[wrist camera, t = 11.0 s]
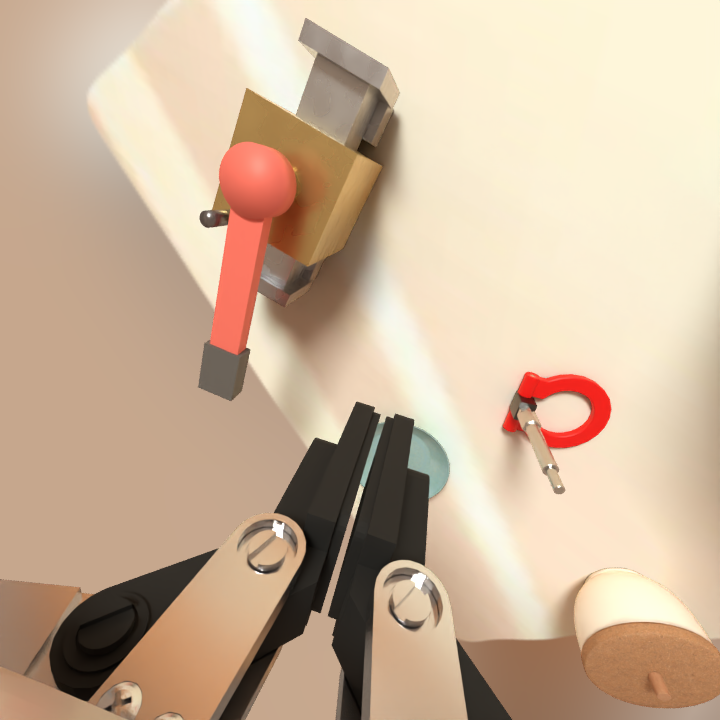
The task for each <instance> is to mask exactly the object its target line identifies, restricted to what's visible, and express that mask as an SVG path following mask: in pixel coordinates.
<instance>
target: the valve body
mask: <svg viewBox="0 0 720 720" xmlns="http://www.w3.org/2000/svg"><path fill="white" fill-rule="evenodd" d="M298 41H299V42H300V43H301V44H302V45H303V46H304V47H305V48H306V49H307V50H308V51H309V52H310V53H311V54H312V55H313V56H314V58H315V61H314V64H313V67H312V70H311V73H310V76H309V79H308V81H307V84H306V87H305V90H304V93H303V96H302V99H301V101H300V104H299V107H298V110H297V113H296V115H295V114H293V113H292V112H290V111H288V110H286V109H284V108H283V107H281V106H279V105H277V104H275V103H273V102H272V101H270V100H268V99H266V98H264V97H262V96H261V95H259V94H257V93H255V92H253V91H251V90H250V89H248V88H246V92H245V95H244V99H243V102H242V106H241V109H240V113H239V117H238V120H237V124H236V127H235V131H234V134H233V138H232V141H231V145H230V148H231V147H233V146H234V145H236V144H238V143H242V142H253V143H257V144H260V145H264V146H267V147H271V148H274V149H276V150H278V151H279V152H281V153H282V154H283V155H284V156H285V157H286V158H287V159H288V161H289V162H290V164H291V166H292V167H293V170H294V173H295V176H296V184H297V187H296V195H295V198H294V201H293V203H292V205H291V206H290V208H289V209H288V210H287V211H286V212H285V213H283V214H282V215H280V216H277V217H273V218H272V223H271V228H270V233H269V238H268V242H267V247H266V252H265V257H264V262H263V267H262V272H261V276H260V281H259V286H258V292H259V293H261V294H263V295H264V296H266V297H268V298H270V299H271V300H273V301H275V302H276V303H278V304H280V305H282V306H283V307H286V306H288V305H289V304H290V303H292V302H293V301H295V300H296V299H298V298H299V297H301V296H302V295H304V294H305V293H307V292H308V291H309V289H310V287H311V285H312V283H313V280H314V279H316V277H317V275H318V273H319V270H320V268H321V266H322V264H323V262H324V260H325V258H326V257H328V256H330V255H332V254H334V253H336V252H338V251H340V250H342V249H343V248H344V246H345V244H346V242H347V240H348V237H349V235H350V233H351V231H352V229H353V227H354V225H355V223H356V221H357V219H358V217H359V215H360V213H361V210H362V208H363V206H364V204H365V202H366V200H367V198H368V196H369V194H370V192H371V190H372V188H373V186H374V183H375V181H376V179H377V177H378V175H379V173H380V171H381V169H382V167H383V166H381V165H380V164H378V163H376V162H375V161H373V160H371V159H370V158H368V157H366V156H365V155H363V154H361V153H360V152H358V151H357V149H358V147H359V145H360V143H361V140H362V139H363V140H365V141H366V142H368V143H370V144H371V145H373V146H375V147H377V145H378V143H379V141H380V138H381V136H382V134H383V132H384V130H385V128H386V126H387V123H388V121H389V119H390V117H391V115H392V113H393V110H394V109H393V107H394V105H395V103H396V100H397V98H398V96H399V94H400V92H399V90H398V88H397V85H396V83H395V81H394V79H393V76H392V74H391V72H390V70H389V68H388V67H386V66H384V65H383V64H381V63H379V62H378V61H376V60H375V59H373V58H371V57H370V56H368V55H366V54H365V53H363V52H361V51H360V50H358V49H356V48H355V47H353V46H351V45H350V44H348V43H346V42H345V41H343V40H341V39H340V38H338V37H336V36H335V35H333V34H332V33H330V32H328V31H327V30H325V29H323V28H322V27H320V26H318V25H317V24H315V23H313V22H312V21H310V20H308V19H307V18H305V22H304V25H303V28H302V31H301V34H300V37H299V40H298ZM230 148H229V149H230ZM230 208H231V207H230V205H229V204H228V203H227V201H226V199H225V198H224V195H223V193H222V190H221V187H220V184H219V187H218V191H217V194H216V198H215V202H214V205H213V209H212V210H209V211H203V212H201V214H200V222H201V223H202V225H203V226H205V227H207V228H210V227H218V226H226V225H228V221H229V215H230Z"/></svg>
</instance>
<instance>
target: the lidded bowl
mask: <svg viewBox="0 0 720 720" xmlns="http://www.w3.org/2000/svg"><path fill="white" fill-rule="evenodd" d="M574 625H575V631H576V636H577V640H578V643H579V647H580V651H581V658H582V662H583V666H584V669H585V672H586V674H587V676H588V677H589V679H590V680H591V681H592V682H593V683H594V684H595V685H596V686H597V687H598V688H599V689H601V690H602V691H604V692H605V693H607V694H609V695H611V696H612V697H615V698H617V699H620V700H622V701H625V702H628V703H632V704H635V705H640V706H646V707H653V708H680V707H681V708H682V707H689V706H694V705H698V704H701V703H704V702H707V701H709V700H712V699H713V698H715V697H716V696H718V695H719V694H720V653H719V652H718V650H717V648H716V647H715V646H714V645H713V644H712V642H711V640H710V638H709V637H708V635H707V634H706V632H705V631H704V629H703V628H702V626H701V625H700V623H699V622H698V621H697V619H696V618H695V617H694V615H693V614H692V613H691V612H690V610H689V609H688V608H687V607H686V606H685V605H684V604H683V603H682V602H681V601H680V600H679V599H678V598H677V597H676V596H675V595H674V594H673V593H671V592H670V591H669V590H667V589H666V588H665V587H663V586H662V585H660V584H659V583H657V582H655V581H653V580H651V579H649V578H647V577H644V576H643V575H641V574H640V573H638V572H636V571H633V570H630V569H625V568H606V569H602V570H599V571H596V572H594V573H592V574H591V575H590V576H589V577H588V578H587V579H586V581H585V583H584V585H583V586H582V588H581V589H580V591H579V592H578V594H577V597H576V600H575V605H574Z"/></svg>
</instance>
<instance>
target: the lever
mask: <svg viewBox="0 0 720 720" xmlns="http://www.w3.org/2000/svg"><path fill="white" fill-rule="evenodd" d="M219 181H220V187H221V190H222V193H223V195H224V198H225V199H226V201H227V203H228V204H229V205H230V207H231V208H230V215H229V221H228V228H227V234H226V241H225V248H224V254H223V261H222V267H221V274H220V281H219V287H218V294H217V300H216V307H215V314H214V321H213V327H212V334H211V340H209V341H207V342H206V343H205V344H204V351H203V358H202V365H201V372H200V379H199V386H198V387H199V388H201V389H204V390H206V391H208V392H211V393H213V394H215V395H218V396H220V397H222V398H225V399H227V400H229V401H232V400H233V399H234V398H235V397H236V396H237V395H238V394H239V393H240V392H241V391H242V387H243V382H244V377H245V373H246V368H247V363H248V359H249V354H250V349H248V348H246V344H247V340H248V335H249V330H250V325H251V320H252V315H253V310H254V306H255V301H256V296H257V291H258V286H259V281H260V276H261V272H262V267H263V262H264V257H265V252H266V247H267V242H268V238H269V233H270V228H271V223H272V218H273V217H277V216H280V215H282V214H283V213H285V212H286V211H287V210H288V209H289V208H290V206H291V205H292V203H293V201H294V198H295V195H296V187H297V184H296V176H295V173H294V170H293V167H292V166H291V164H290V162H289V161H288V159H287V158H286V157H285V156H284V155H283V154H282V153H281V152H279V151H278V150H276V149H274V148H271V147H267V146H264V145H260V144H257V143H253V142H242V143H238V144H236V145H234V146H233V147H231V148H230V149H229V150H228V151H227V152H226V154H225V155H224V157H223V159H222V162H221V165H220V170H219Z"/></svg>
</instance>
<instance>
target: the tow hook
mask: <svg viewBox="0 0 720 720" xmlns="http://www.w3.org/2000/svg"><path fill="white" fill-rule="evenodd" d="M560 391H575V392H579V393H581V394H583V395H585V396H586V397H588V398H589V400H590V401H591V406H592V409H591V414H590V416H589V418H588V420H587V421H586V422H585V423H584V424H583V425H582V426H580V427H579V428H577V429H575V430H572V431H569V432H564V433H555V432H550V431H547V430H545V429H543V428H542V427H541V424H540V422H539V420H538V417H537V416H536V413H535V410H536V408H537V405H536V403H535V401H534V399H533V397H536V398H540V399H544V398H546V397H547V396H549V395H551V394H553V393H556V392H560ZM610 413H611V404H610V399H609V397H608V396H607V394H606V392H605V391H604V390H603V388H602V387H600V386H599V385H598V384H597V383H596V382H595V381H593V380H590V379H588V378H586V377H584V376H578V375H573V374H569V375H557V376H553V377H549V378H547V379H546V378H542V377H539V376H538V375H537V374H535V373H532V372H526V374H525V376H524V378H523V381H522V383H521V385H520V387H519V390H518V391H517V392H516V394H515V396H514V399H513V401H512V403H511V405H510V410H509V413H508V415H507V417H506V420H505V422H504V424H503V427H504V429H506V430H507V431H510V432H515V431H516V430H520V431H524V432H525V433H526V435H527V436H528V437H529V440H530V442H531V445H532V447H533V449H534V452H535V454H536V457H537V459H538V462H539V464H540V467H541V469H542V471H543V473H544V474H545V475H547V476H548V479H549V481H550V483H551V486H552V488H553V491H554V492H555V493H556V494H562V493H564V492H565V488H564V486H563V484H562V481H561V479H560V477H559V475H558V472H559V468H558V466H557V464H556V462H555V460H554V457H553V455H552V453H551V451H550V449H549V447H554V448H567V447H572V446H577V445H580V444H582V443H585V442H587V441H589V440H591V439H592V438H594V437H595V436H597V435H598V434H599V433H600V432H601V431H602V430H603V429H604V428H605V426H606V424H607V422H608V420H609V418H610ZM548 446H549V447H548Z"/></svg>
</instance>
